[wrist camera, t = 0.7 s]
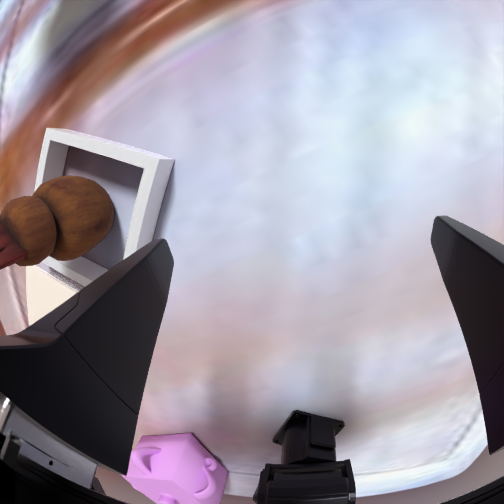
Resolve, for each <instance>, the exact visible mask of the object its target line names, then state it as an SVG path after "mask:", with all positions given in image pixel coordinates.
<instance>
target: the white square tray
mask: <svg viewBox="0 0 504 504" xmlns="http://www.w3.org/2000/svg"><path fill="white" fill-rule="evenodd" d="M69 145H70V146H73V147H77V148H80V149H84V150H87V151H90V152H94V153H97V154H100V155H103V156H107V157H110V158H113V159H116V160H119V161H123V162H126V163H129V164H132V165H135V166H138V167H141V168H144V171H143V175H142V178H141V182H140V186H139V190H138V194H137V197H136V202H135V206H134V210H133V214H132V219H131V223H130V228H129V232H128V237H127V242H126V247H125V252H124V258H123V260H124V259H125V258H127V257H128V256H130V255H131V254H133V253H134V252H136V251H137V250H139V249H140V248H142V247H143V246H145V245H146V244H148V243H149V242H151V241H152V239H153V235H154V231H155V227H156V223H157V219H158V215H159V212H160V208H161V204H162V201H163V197H164V194H165V190H166V187H167V183H168V180H169V176H170V173H171V170H172V167H173V163H174V160H175V159H172V158H169V157H165V156H162V155H159V154H156V153H152V152H149V151H146V150H142V149H139V148H136V147H132V146H129V145H125V144H122V143H118V142H115V141H111V140H107V139H104V138H100V137H96V136H92V135H88V134H85V133H81V132H77V131H73V130H68V129H58V128H46V132H45V137H44V141H43V145H42V150H41V155H40V160H39V166H38V172H37V178H36V184H35V191H36V190H37V188H38V187H39V186H40V184H42V183H44V182H46V181H49V180H51V179H54V178H57V177H62V176H63V171H64V166H65V161H66V156H67V152H68V148H69ZM35 191H34V192H35ZM42 262H43V263H45V264H46V265H48V266H50V267H51V268H53V269H55V270H56V271H58V272H60V273H62V274H63V275H65V276H67V277H68V278H70V279H72V280H74V281H75V282H77V283H79V284H81V285H83V286H84V287H86V286H87V285H88V284H90V283H91V282H92V281H94V280H95V279H97V278H98V277H99V276H101V275H102V274H104V273H105V272H107V271H108V269H106V268H104V267H102V266H100V265H98V264H96V263H94V262H92V261H90V260H88V259H86V258H84V257H82V256H80V257H78V258H76V259H74V260H69V261H57V260H56V259H54V258H52V257H50V256H48V257H47V258H46V259H44V260H43V261H42Z"/></svg>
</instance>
